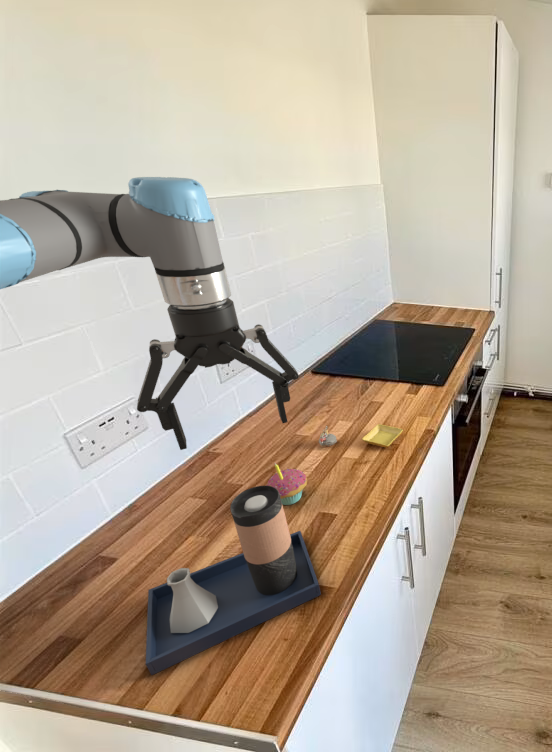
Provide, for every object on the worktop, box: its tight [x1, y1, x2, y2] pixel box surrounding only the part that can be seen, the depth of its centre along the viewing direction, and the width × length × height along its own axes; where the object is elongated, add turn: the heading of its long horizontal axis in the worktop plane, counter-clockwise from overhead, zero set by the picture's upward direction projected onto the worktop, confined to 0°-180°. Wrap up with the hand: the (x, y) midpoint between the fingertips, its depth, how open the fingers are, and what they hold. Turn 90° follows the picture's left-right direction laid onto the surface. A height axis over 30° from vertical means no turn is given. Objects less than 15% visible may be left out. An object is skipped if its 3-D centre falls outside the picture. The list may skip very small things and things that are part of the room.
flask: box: [166, 567, 218, 633], centre depth 74 cm, size 7×7×10 cm
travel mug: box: [229, 485, 297, 595], centre depth 78 cm, size 8×8×20 cm
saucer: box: [361, 423, 404, 449], centre depth 125 cm, size 9×9×2 cm
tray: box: [145, 530, 322, 676], centre depth 79 cm, size 25×15×3 cm, turn 125°
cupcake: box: [265, 462, 308, 506], centre depth 100 cm, size 9×8×12 cm
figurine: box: [318, 424, 338, 448], centre depth 121 cm, size 5×4×6 cm
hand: (236, 431), depth 68 cm, fingers open, 13 cm apart
